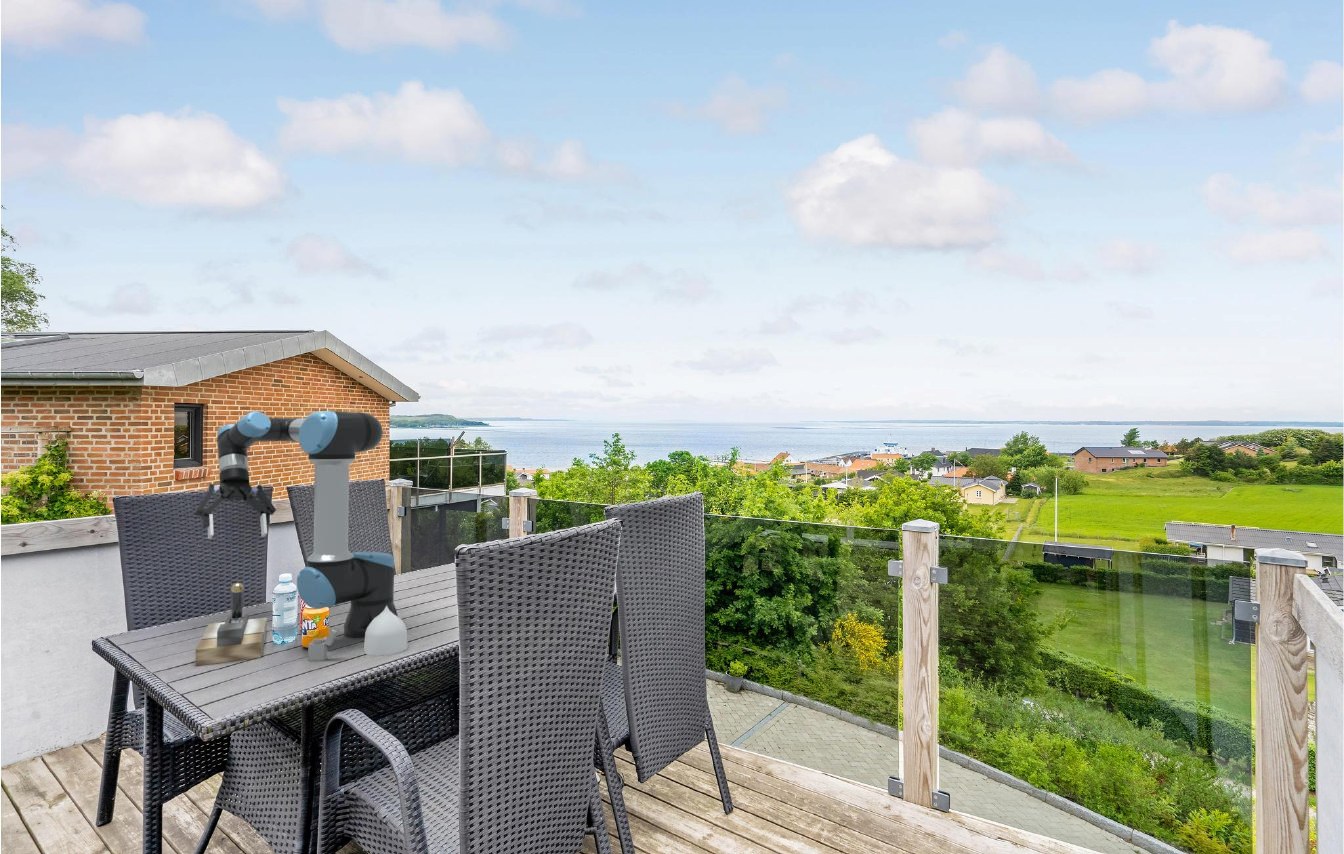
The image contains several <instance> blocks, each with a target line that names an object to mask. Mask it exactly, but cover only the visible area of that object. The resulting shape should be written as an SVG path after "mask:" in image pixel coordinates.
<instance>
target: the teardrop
mask: <svg viewBox="0 0 1344 854" xmlns="http://www.w3.org/2000/svg"><path fill="white" fill-rule="evenodd" d="M407 649H408V630H407V627H406V624H405V622H403V620H402V619H401V618H400V617H399V616H398V617H397V616H396V615H394V614H393V613H392V612H391V611H390V610H389V609H388V607H387V606H386V607H385V609H384V611H383V612H382V613H381V614H379V615H378V616H377V617H375V618H374V619H373V620H372V622H371V623H370V624H369V626H368V627H367V629H366V632H365V638H364V647H363V653H364V654H365V653H366V655H367V656H373V657H383V656H390V655H395V654H399V653H402V652H404V651H406V650H407Z"/></svg>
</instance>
